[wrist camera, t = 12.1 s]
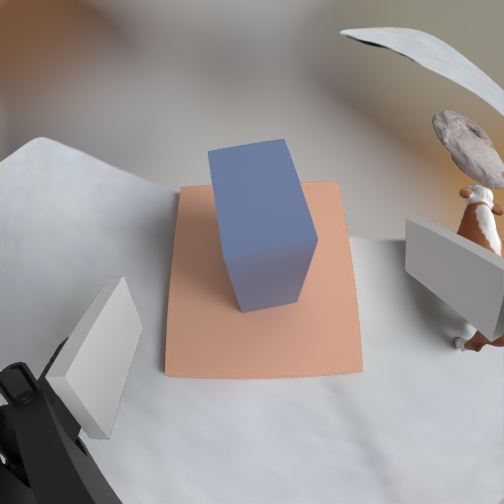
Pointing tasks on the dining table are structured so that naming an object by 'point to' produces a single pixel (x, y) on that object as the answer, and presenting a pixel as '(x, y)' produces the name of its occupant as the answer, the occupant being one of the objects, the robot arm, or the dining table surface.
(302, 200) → the block
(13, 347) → the dining table surface
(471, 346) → the bull figurine
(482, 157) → the fossil
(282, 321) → the plate
